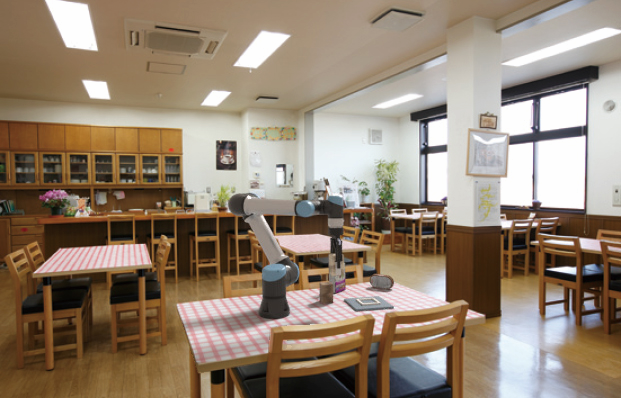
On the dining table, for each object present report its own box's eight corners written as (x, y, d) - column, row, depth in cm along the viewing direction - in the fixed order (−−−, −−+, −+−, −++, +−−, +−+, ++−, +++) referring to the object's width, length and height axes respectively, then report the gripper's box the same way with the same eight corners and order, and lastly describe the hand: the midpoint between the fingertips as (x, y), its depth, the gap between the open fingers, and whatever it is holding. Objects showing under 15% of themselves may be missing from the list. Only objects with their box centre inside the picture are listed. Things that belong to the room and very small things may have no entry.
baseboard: (356, 311, 201) (356, 309, 201) (344, 300, 221) (344, 298, 221) (393, 308, 206) (393, 306, 206) (378, 297, 225) (378, 296, 225)
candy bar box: (338, 288, 247) (338, 261, 246) (345, 289, 244) (345, 262, 243) (328, 292, 238) (328, 264, 238) (335, 293, 235) (335, 265, 235)
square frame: (362, 305, 207) (362, 304, 207) (355, 300, 217) (355, 298, 217) (380, 304, 210) (380, 302, 210) (373, 299, 219) (373, 297, 219)
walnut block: (322, 303, 215) (322, 285, 215) (319, 300, 221) (319, 282, 221) (333, 303, 217) (333, 284, 216) (330, 299, 222) (330, 281, 222)
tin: (394, 289, 244) (394, 275, 244) (392, 290, 242) (392, 276, 241) (371, 286, 252) (371, 272, 252) (369, 287, 250) (368, 273, 250)
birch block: (332, 276, 197) (331, 255, 197) (329, 273, 203) (328, 253, 203) (344, 275, 199) (343, 254, 198) (340, 272, 204) (340, 253, 204)
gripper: (349, 228, 192) (349, 277, 192) (337, 225, 210) (338, 269, 211) (333, 228, 190) (334, 278, 191) (323, 225, 209) (324, 270, 209)
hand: (336, 273), depth 201 cm, fingers closed on birch block, 6 cm apart
